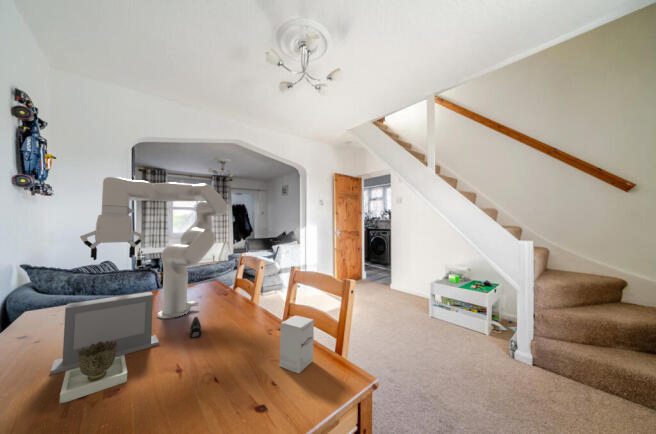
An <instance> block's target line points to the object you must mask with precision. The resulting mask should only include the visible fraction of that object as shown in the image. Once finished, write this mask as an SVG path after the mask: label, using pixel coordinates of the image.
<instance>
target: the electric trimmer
mask: <svg viewBox="0 0 656 434" xmlns="http://www.w3.org/2000/svg"><path fill="white" fill-rule="evenodd" d="M200 321H201V320H200V319H199V317H198V316H194V318H193V319H192V322H191V324H190V327H189V328H190V333H189V339H190V340H192V339H198V338H201V337H202V330H201V322H200Z"/></svg>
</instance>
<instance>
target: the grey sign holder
mask: <svg viewBox="0 0 656 434" xmlns="http://www.w3.org/2000/svg"><path fill="white" fill-rule="evenodd" d="M153 302H154V294H153V293H152V291H145V292H139V293H133V294H126V295H119V296H113V297H105V298H100V299H99V298H97V299H92V300H85V301H79V302H78V301H77V302H71V303H67V304H66V306H65V307H64V308H65V310H64V311H65V312H64V324H63V325H64V328H63V346H62V347H63V348H62V357H61V358H58V359H54V361H53V363H52V366H51V368H50V375H54V374H59V373H62V372H66V371H68V370H72V369H76V368H79V367H80V366H79V357H78V351H80V350H82V348H85V350H86V349H89V348H90V345H91V344H97V343H98V342H100V341H101V342H103V343H106V341H109V344H110V342H111V341H112V340H113V341H116V343H117V342H118V344H117V349H116V354H115V357H119V356H122V355H127V354H131V353H135V352H138V351H142V350H145V349H149V348H152V347H156V346H159V345H160V341H159V339H158V337H157V335H156V334H153V335H152V332H153V331H152V329H153V328H152V327H153V307H154V303H153Z"/></svg>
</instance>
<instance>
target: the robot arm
mask: <svg viewBox="0 0 656 434" xmlns="http://www.w3.org/2000/svg"><path fill="white" fill-rule="evenodd" d="M131 201H157V202H198V203H196V206H195V207H196V208H195V210H196V211H195V212H196V219H195V221H194V222H193V223H192V224H191V225H190V226H189V228H188V229H186V230H185V231H184V232H183V234H182V235H181V237H180V243H181V244H176V243H175V244H170V245H168V246H166V247H165V248H164V249H163V250H162V252H161V263H162V269H163V271H162V272H163V274H162V277H163V278H162V280H163V281H162V300H161V301H162V303H161V304H162V306H161V310H160V311H159V312H157V317H158V318H160V319H166V320H167V319H174V318H175V317H176V318H180V317H183V316H185V315H184V314H186V315H188V314H189V313H190V312H191V309H192V307H197V306H199V302H198V301H188V283H189V282H188V281H189V279H188V278H189V274H188V273H189V272H188V268H187V267H194V266H196V265H198V264H199V263H200V262H201V261H202V260H203V258H205V256H206V255H207V254H208V253H209V251H210V250H211V249H212V247H213V246H214V244H215V241H216V240H215V239H216V235H215V233H214V232H213V230H212V228H213V222H212V217H214V216H215V217H216V216H217V217H220V216H224V215H226V213H228V212H227V211H228V204H227V203H226V201H225V199H224V198H223V197H222V196H221V195H220V194H219V193H218V191H217V190H216V189H214V187H212V185H210V184H207V183H198V184H197V183H196V184H193V183H192V184H191V183H180V182H159V183H158V182H157V183H151V182H149V181H146V180H134V179H133V180H132V179H127V178H124V177H116V176H107V177H105V178H103V181H102V198H101V214H98V216H97V218H96V222H95V223H96V224H95V230H93V231H91V232H90V231H89V232H87V233H85V234H83V235H80V237H79V238H80V239H81V241H82V242H83V244H84V245H85V246H87V247H89V248H90V249H91V250H90V258H92V259H93V261H96V260H97V254H98V248H97V246H99V244H101V243H103V244H106V243H110V244H111V243H128V244H129V245H130V246H129V252H128V253H129V254H128V257H129V258H131V259H133V256H135V253H136V250H135V249H136V247H137V246H138V245H140V244H141V243H142V241H143V239H144V238H145V235H144V234H142V233H140V232H138V231H135V230H134V228H133V226H134V225H133V217H132V215H130V214H131V213H135V209H134V208H130V204H131ZM93 236H94V240H95V241H94V242H90V241H89V239H88V238H89V237H93ZM134 236H137V237H138V238H137V240H136V241H133V239H134V238H133V237H134ZM189 311H190V312H189ZM188 312H189V313H188ZM187 313H188V314H187ZM182 315H183V316H182ZM179 316H180V317H179Z"/></svg>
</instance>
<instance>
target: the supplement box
mask: <svg viewBox="0 0 656 434" xmlns="http://www.w3.org/2000/svg"><path fill="white" fill-rule="evenodd" d="M314 321H315V319H313V318H308V317H304V316H301V315H294V316H292V317H289V318H287V319H286V320H284V321H282V322H281V323H280V330H279V331H280V337H279V340H280V341H279V367H281V368H282V369H285V370H288V371H291V372H293V373H296V374H300V373H301V372H303V371H304V369H306V368H307V367H308V366H309V365H310V364H311V363H313V361H314V337H315V336H314V335H315V333H314V328H315V327H314V326H315V325H314V324H315V322H314Z"/></svg>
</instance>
